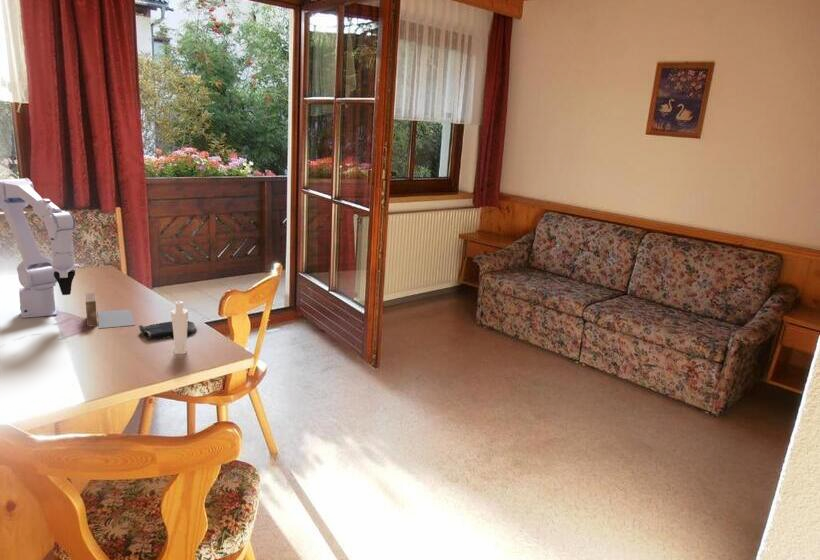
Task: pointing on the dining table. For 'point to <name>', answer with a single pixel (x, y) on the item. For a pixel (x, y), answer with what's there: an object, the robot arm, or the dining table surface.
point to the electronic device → (163, 330)
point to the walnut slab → (91, 309)
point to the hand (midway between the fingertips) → (66, 294)
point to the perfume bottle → (180, 328)
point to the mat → (115, 318)
